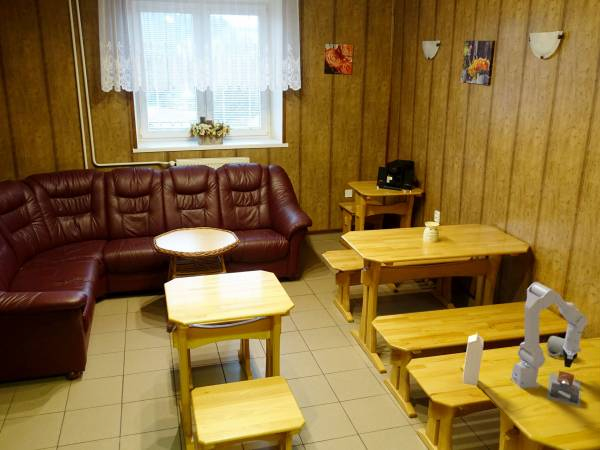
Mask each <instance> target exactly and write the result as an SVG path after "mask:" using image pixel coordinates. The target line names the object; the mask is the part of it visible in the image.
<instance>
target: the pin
mask: <svg viewBox="0 0 600 450" xmlns="http://www.w3.org/2000/svg"><path fill="white" fill-rule="evenodd" d="M557 375H558V380H557V381H558V382H561V383H564V384H568V385H572V384H573V380H575V374H572V373H569V372H565V371H562V370H561V371H560V370H559V371H558V374H557Z"/></svg>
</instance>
